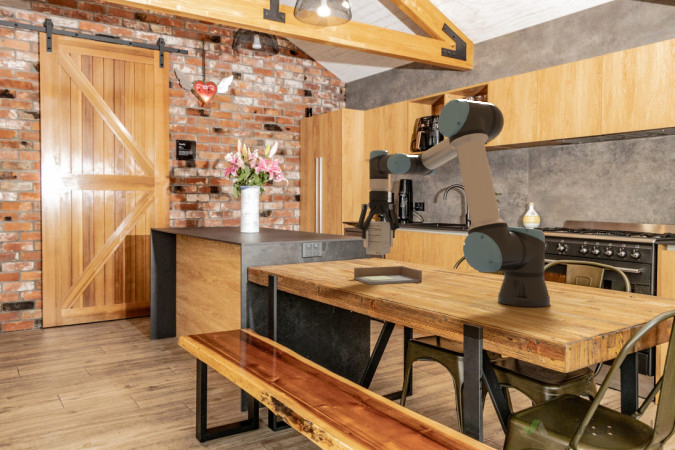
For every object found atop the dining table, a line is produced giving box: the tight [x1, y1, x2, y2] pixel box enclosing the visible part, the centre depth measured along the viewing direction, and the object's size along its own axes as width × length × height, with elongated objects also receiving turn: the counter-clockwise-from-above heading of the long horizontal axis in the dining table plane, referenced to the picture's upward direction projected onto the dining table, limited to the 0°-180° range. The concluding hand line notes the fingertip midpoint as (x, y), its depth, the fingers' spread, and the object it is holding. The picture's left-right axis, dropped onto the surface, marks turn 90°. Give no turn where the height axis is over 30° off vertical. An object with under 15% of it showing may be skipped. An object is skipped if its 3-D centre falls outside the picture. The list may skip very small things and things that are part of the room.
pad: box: [362, 276, 395, 281], centre depth 210 cm, size 10×10×1 cm
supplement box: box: [365, 221, 391, 256], centre depth 209 cm, size 7×7×13 cm
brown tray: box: [353, 265, 423, 286], centre depth 211 cm, size 16×22×4 cm
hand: (378, 246), depth 209 cm, fingers closed on supplement box, 10 cm apart
